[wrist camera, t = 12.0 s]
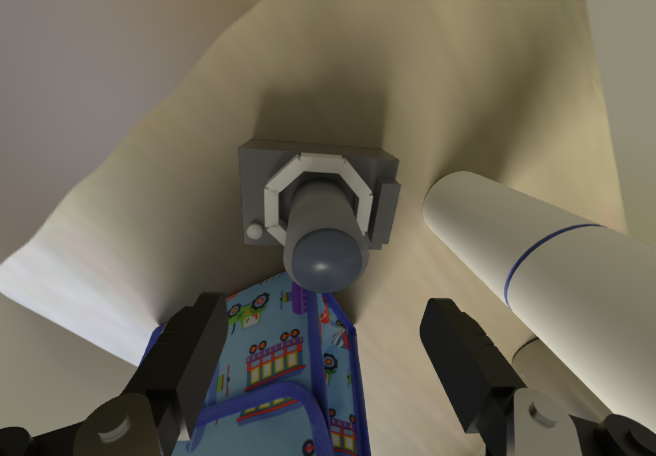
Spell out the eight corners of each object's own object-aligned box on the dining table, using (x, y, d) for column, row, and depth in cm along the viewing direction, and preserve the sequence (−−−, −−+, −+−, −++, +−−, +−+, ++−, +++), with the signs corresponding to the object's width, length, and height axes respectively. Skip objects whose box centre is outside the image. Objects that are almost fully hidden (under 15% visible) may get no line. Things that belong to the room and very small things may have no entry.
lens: (349, 178, 20) (377, 225, 12) (344, 229, 22) (365, 299, 14) (291, 176, 19) (281, 224, 12) (291, 228, 21) (283, 299, 14)
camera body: (382, 149, 24) (406, 164, 18) (368, 225, 27) (385, 259, 21) (251, 138, 23) (232, 151, 17) (255, 220, 26) (239, 254, 20)
